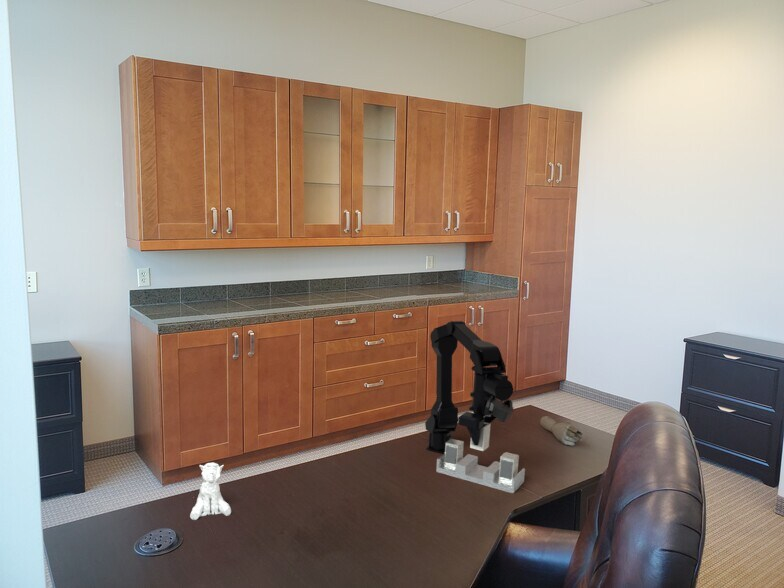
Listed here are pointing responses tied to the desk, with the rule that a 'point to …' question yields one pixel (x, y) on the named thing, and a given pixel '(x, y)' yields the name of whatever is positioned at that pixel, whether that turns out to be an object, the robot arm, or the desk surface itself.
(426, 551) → the desk surface
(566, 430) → the mannequin hand
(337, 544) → the desk surface
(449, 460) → the white slotted block stand
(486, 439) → the white rectangular block
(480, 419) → the robot arm
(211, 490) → the seated beast figurine
